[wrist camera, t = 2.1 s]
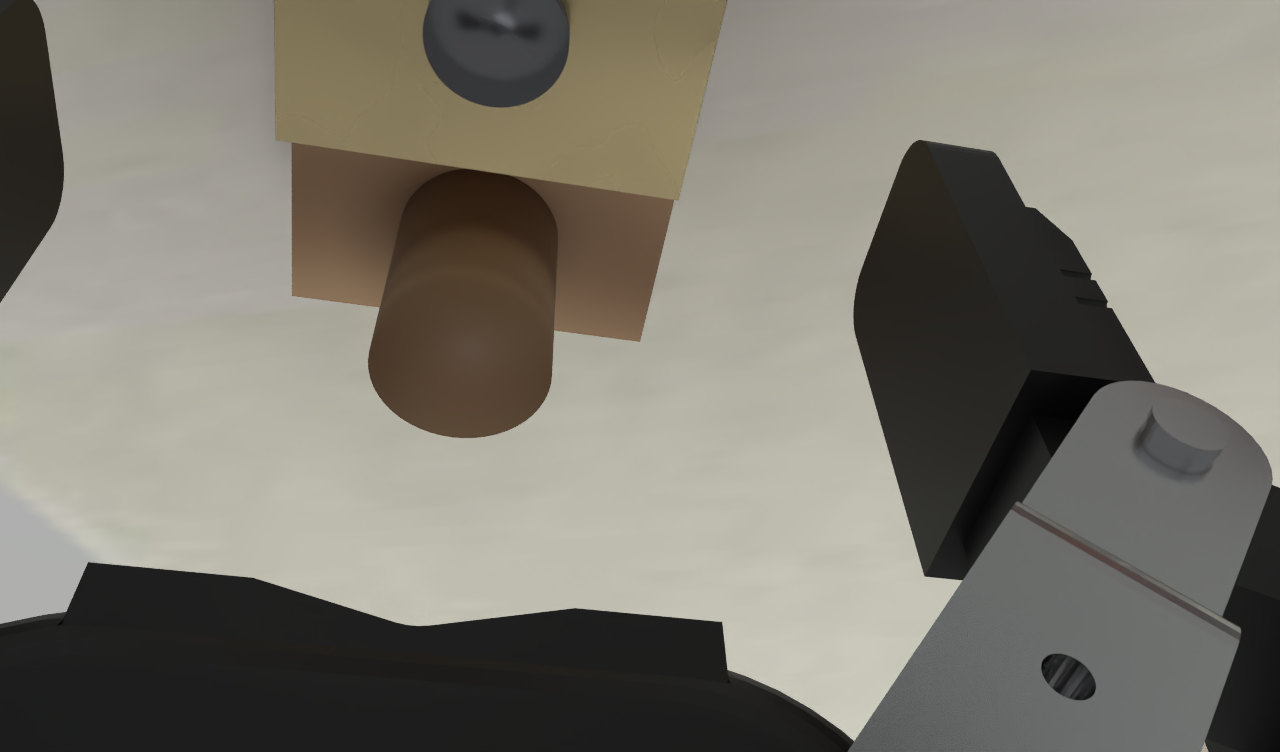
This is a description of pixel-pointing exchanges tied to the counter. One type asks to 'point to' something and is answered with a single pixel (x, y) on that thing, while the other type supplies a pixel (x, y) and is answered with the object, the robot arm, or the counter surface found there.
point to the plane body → (469, 276)
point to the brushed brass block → (502, 84)
